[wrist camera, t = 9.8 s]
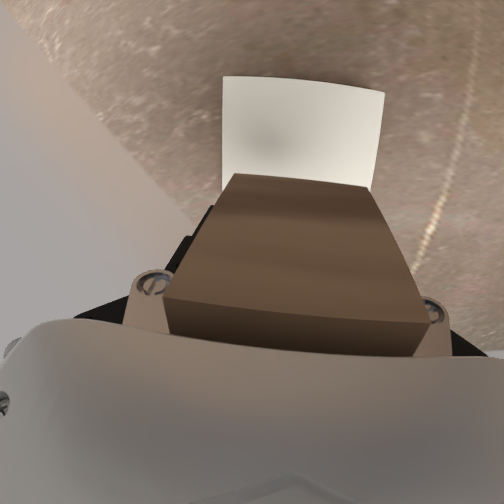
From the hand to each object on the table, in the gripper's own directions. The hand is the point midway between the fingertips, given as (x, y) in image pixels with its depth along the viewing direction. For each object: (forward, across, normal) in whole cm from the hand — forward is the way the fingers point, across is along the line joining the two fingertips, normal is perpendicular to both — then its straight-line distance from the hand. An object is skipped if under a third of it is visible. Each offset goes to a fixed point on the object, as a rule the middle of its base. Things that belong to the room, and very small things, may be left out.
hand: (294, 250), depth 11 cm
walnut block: (+1, 0, 0) cm, 1 cm away
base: (+17, 0, 0) cm, 17 cm away
